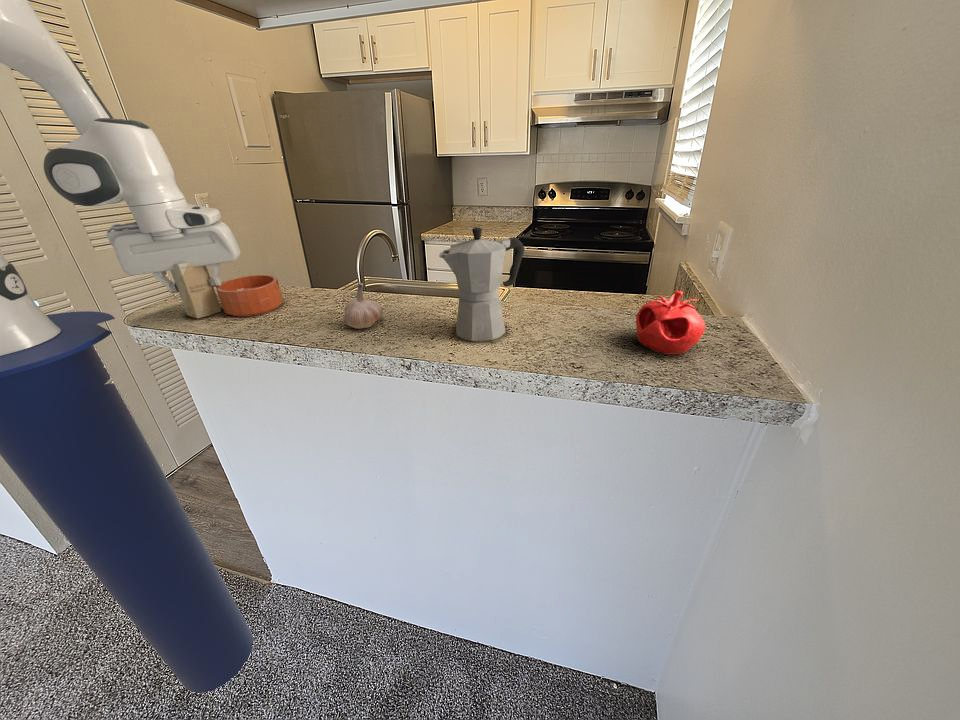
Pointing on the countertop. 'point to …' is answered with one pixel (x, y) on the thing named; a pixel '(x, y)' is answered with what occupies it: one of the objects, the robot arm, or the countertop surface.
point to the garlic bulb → (362, 311)
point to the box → (195, 290)
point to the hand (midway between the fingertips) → (197, 288)
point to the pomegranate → (669, 325)
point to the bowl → (250, 295)
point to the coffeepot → (481, 284)
